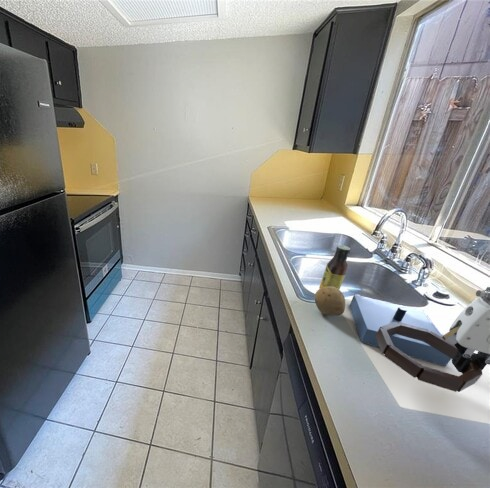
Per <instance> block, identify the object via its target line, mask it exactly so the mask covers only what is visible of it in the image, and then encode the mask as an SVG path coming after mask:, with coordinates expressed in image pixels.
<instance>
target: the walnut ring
mask: <svg viewBox="0 0 490 488" xmlns="http://www.w3.org/2000/svg"><path fill="white" fill-rule="evenodd" d="M395 334H398V335H401V336H405V337H409V338H412V339H416V340H420V341H423V342H425V343H427V344H428V345H430V346H432V347H433V348H435V349H437V350H438V351H440V352H442V353H443V354H445V355H446V356H448V357H450V358H451V360H452V359H453V357H454V356H455V354H456V353H457V352H458V349H457V348H456V347H455V346H454V345H451V344H450V343H448V342H446V341H445V340H444V338H443V337H441V336H439V335H438V334H436V333H434V332H432V331H429V330H428V329H424V328H420V327H416V326H412V325H409V324H405V323H401V322H393V323H390V324H387V325H384V326H381V327H380V328H379V330H378V332H377V334H376V336H375V337H376V340H377V342H378V345H379V347H378V348H379V349H380V351H381V354H382V355H383V357H385V358H386V359H387V360H389V361H391V363H393V364H395V365H396V366H397V367H398V368H400V369H401V370H403V371H404V372H405V373H407V374H408V375H410V376H411V377H412V378H414V379H416V380H418V381H420V382H423V383H426V384H429V385H432V386H436V387H439V388H442V389H446V390H449V391H452V392H454V393H457V392H458V393H460V392H462V391H464V390H466V389H468V388H470V387H472V386H473V385H475V384H476V383H477V382H478V380H479V379H480V378H481V377H482V375H483V370H482V371H481V370H480V368H479V367H478V366H477V365H476V363H475V362H474V361H473V359H472V358H471V357H470V359H471V360H472V362H471V363H470V364H469V366H468V367H467V368H466V370H465V371H464V372H463V373H461V374H460V375H456V374H452V373H449V372H445V371H443V370H438V369H436V368H432V367H430V366H426V365H423V364H421V362H418V361H417V360H416V359H414V357H411V356H408V355H407V354H405V353H404V352H402V351H401V350H399V349H398V348H396V347H395V346H394V345H393V343H392V341H391V338H390V336H392V335H395Z"/></svg>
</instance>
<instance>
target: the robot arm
mask: <svg viewBox="0 0 490 488" xmlns="http://www.w3.org/2000/svg"><path fill="white" fill-rule="evenodd" d="M475 296H476V298H475V299H474V300H472V301H471V302H470V303H469V304H468V305H467V306H466V307H465V308H464V309H463V310H462V311H461V312H460V313H459V315H457V316H456V318H455V320H454V321H453V322H452V323H451V326H450V328H449V331H447V332H446V333H445V334H444V335H443V334H442V336H443V338H444V340H445V341H446V342H448V343H450V344H451V345H454V346H455V347H456V348H457V349H458V352H457V353H456V354H455V356H454V357H453V359H451V363H452V365H453V366H454V368H455V369H456V371H457V372H458V373H461V374H462V373H463V372H464V371H465V370H466V368H467V367H468V366H469V364H470V363H471V362H472V360H471V359H470V357H471V358H472V359H473V361H474V362H475V363H476V365H477V366H478V367H479V368H480V370H481V371H482V372H483V370H484V369H485V368H486V366H487V365H490V284H489V285H488V286H487V287H486V288H485V290H480V289H478V290H477V291H476V292H475Z"/></svg>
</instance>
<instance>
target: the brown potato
mask: <svg viewBox="0 0 490 488" xmlns="http://www.w3.org/2000/svg"><path fill="white" fill-rule="evenodd" d="M313 298H314V300H313V301H314V303H315V305H316V307H317V310H318V311H319V312H320V313H321V314H323V315H325V316H341V315H343V314H344V313H345V310H346V298H345V295H344V293H343V291H341V289H340V290H339V289H337V288H335V287H331V286H328V287H323V288H321V289H319V288H318V289H317V290H316V292H315V293H314V295H313Z"/></svg>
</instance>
